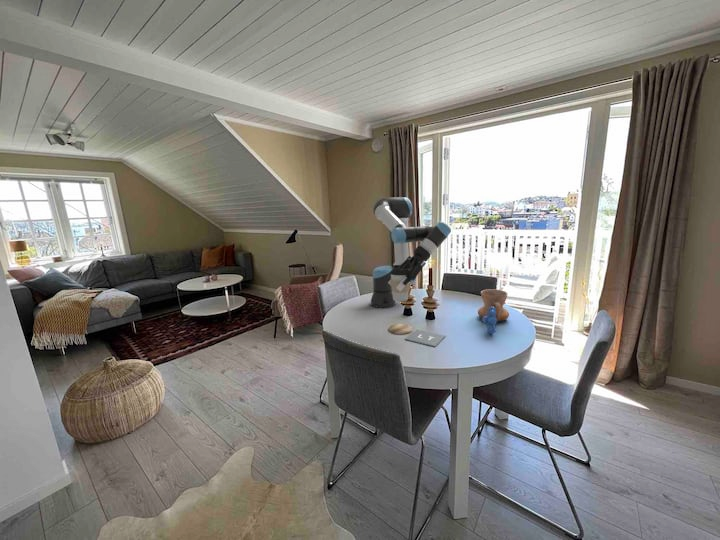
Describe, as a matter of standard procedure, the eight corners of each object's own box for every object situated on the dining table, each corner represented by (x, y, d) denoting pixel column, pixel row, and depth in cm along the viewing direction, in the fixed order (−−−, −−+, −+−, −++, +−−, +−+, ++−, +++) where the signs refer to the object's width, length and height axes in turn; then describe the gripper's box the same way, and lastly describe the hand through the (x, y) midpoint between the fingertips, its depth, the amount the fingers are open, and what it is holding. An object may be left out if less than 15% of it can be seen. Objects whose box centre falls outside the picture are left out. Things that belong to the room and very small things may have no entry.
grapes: (481, 326, 141) (482, 302, 138) (496, 328, 138) (498, 303, 136) (480, 336, 130) (482, 310, 128) (497, 338, 128) (499, 311, 125)
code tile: (404, 339, 129) (404, 338, 129) (416, 330, 139) (416, 329, 139) (435, 347, 121) (435, 346, 121) (445, 336, 131) (445, 335, 131)
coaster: (384, 331, 139) (384, 329, 139) (395, 323, 148) (395, 322, 148) (405, 336, 133) (405, 334, 133) (415, 328, 142) (415, 326, 142)
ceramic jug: (475, 312, 160) (476, 287, 157) (504, 313, 156) (505, 287, 154) (480, 325, 143) (481, 297, 140) (513, 326, 139) (514, 298, 136)
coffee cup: (395, 295, 144) (395, 265, 141) (412, 297, 139) (412, 266, 136) (387, 300, 136) (386, 269, 133) (405, 303, 132) (405, 270, 129)
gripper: (442, 258, 128) (409, 298, 127) (419, 252, 148) (390, 286, 147) (431, 247, 125) (398, 287, 124) (409, 243, 146) (380, 277, 145)
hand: (393, 287), depth 136 cm, fingers closed on coffee cup, 9 cm apart
